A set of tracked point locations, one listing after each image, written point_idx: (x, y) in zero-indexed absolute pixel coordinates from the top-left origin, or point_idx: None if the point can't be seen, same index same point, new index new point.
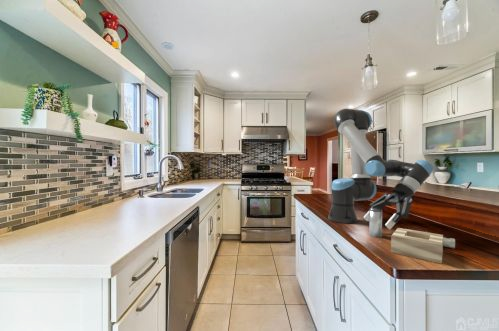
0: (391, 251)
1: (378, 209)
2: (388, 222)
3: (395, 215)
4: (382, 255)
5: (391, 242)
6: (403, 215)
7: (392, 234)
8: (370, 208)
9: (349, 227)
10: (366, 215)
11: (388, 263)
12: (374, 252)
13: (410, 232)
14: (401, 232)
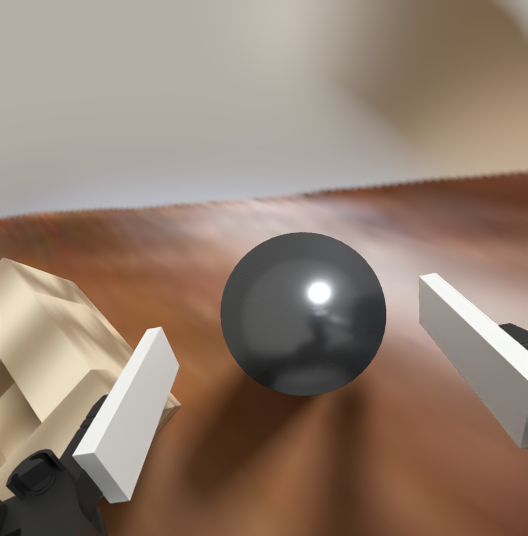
0: (70, 282)
1: (247, 319)
2: (136, 350)
3: (90, 441)
4: (58, 234)
5: (35, 270)
6: (9, 510)
7: (17, 276)
8: (315, 245)
9: (498, 249)
10: (435, 294)
11: (4, 221)
12: (87, 218)
13: (30, 439)
14: (32, 359)
